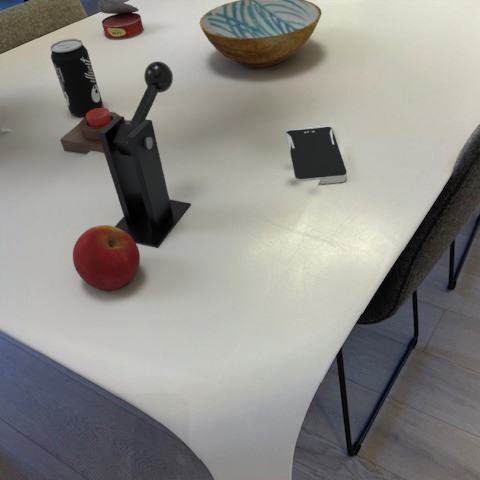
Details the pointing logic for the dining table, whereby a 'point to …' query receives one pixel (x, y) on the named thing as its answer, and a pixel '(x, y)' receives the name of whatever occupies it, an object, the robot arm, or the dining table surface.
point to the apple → (106, 257)
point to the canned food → (120, 20)
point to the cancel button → (98, 117)
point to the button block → (84, 137)
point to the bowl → (260, 29)
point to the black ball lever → (145, 102)
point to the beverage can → (76, 76)
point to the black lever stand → (141, 184)
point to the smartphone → (316, 155)
